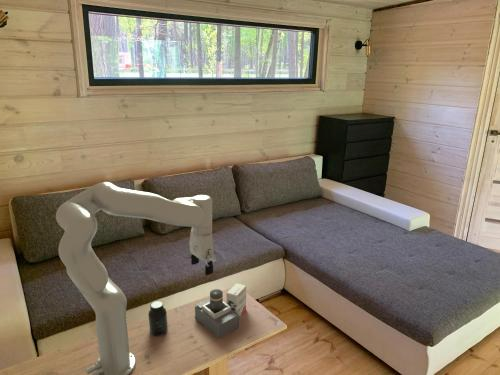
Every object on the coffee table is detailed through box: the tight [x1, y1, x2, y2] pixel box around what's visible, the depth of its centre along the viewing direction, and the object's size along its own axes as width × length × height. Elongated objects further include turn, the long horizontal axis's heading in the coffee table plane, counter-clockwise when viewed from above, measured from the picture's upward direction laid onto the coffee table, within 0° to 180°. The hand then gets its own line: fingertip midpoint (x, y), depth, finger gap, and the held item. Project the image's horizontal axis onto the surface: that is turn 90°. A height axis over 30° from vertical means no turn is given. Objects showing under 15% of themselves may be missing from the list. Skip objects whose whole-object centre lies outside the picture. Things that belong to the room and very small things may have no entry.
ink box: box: [226, 282, 247, 318], centre depth 155 cm, size 8×5×12 cm, turn 152°
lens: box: [209, 288, 224, 313], centre depth 147 cm, size 5×5×8 cm
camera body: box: [194, 297, 240, 339], centre depth 149 cm, size 16×10×8 cm, turn 42°
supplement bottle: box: [148, 300, 169, 337], centre depth 144 cm, size 7×7×12 cm
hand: (202, 268), depth 143 cm, fingers open, 9 cm apart
